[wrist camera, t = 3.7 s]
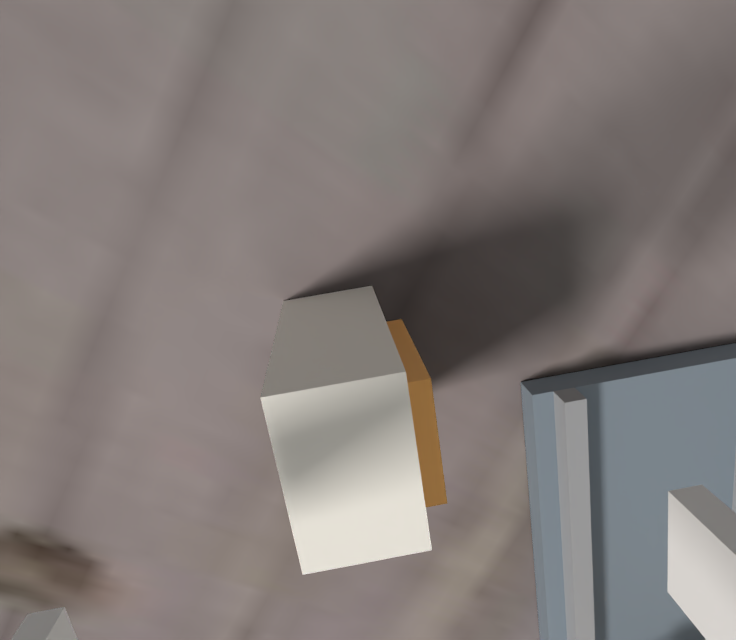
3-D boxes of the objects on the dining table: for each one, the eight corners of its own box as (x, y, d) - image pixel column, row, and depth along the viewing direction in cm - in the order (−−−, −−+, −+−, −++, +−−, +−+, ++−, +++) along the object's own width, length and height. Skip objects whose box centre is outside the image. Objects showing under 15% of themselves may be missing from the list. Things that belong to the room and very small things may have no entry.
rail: (545, 709, 33) (657, 984, 22) (520, 382, 26) (664, 545, 15) (734, 670, 34) (936, 922, 23) (757, 339, 27) (1061, 468, 16)
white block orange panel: (283, 300, 24) (260, 397, 15) (389, 282, 24) (434, 366, 15) (308, 420, 26) (302, 574, 16) (407, 402, 26) (457, 545, 17)
